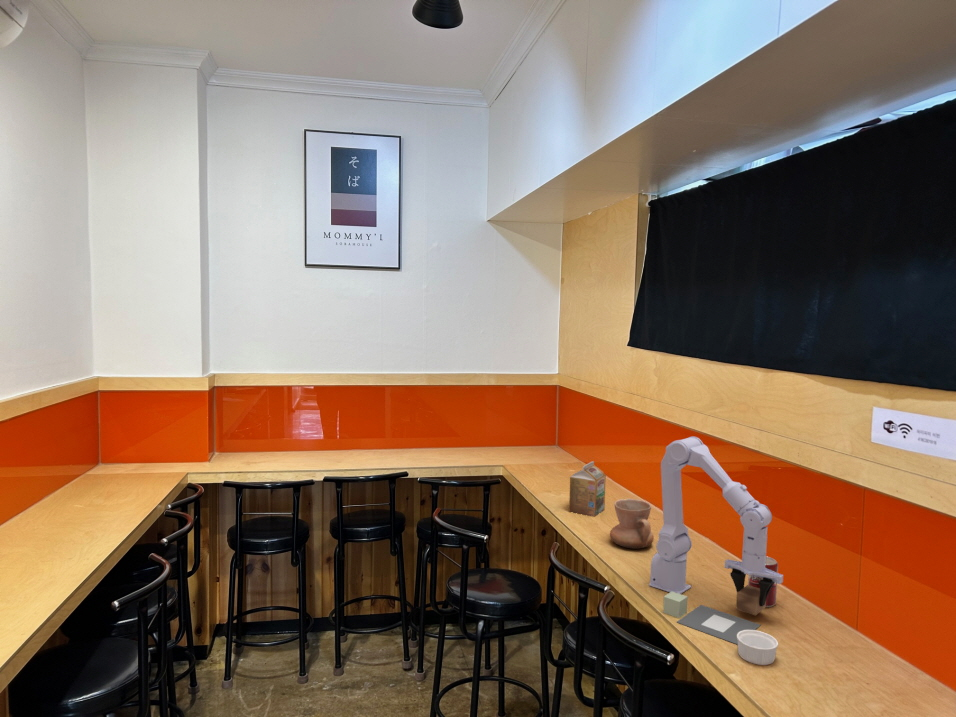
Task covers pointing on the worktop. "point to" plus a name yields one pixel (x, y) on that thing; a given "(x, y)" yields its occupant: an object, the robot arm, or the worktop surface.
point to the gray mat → (717, 623)
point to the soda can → (754, 580)
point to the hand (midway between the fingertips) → (751, 601)
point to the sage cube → (675, 604)
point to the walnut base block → (749, 600)
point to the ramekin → (757, 647)
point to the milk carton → (587, 491)
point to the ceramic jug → (632, 524)
